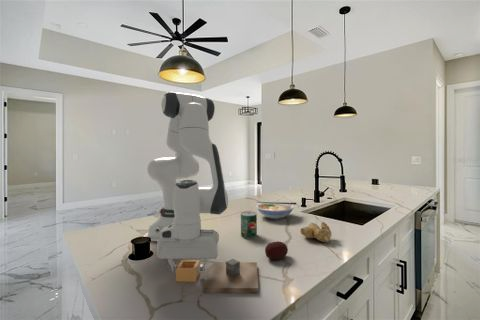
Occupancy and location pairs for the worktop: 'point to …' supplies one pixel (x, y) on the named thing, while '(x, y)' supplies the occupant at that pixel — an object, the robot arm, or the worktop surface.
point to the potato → (276, 250)
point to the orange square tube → (188, 271)
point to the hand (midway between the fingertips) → (188, 270)
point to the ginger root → (317, 232)
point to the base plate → (232, 277)
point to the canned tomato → (248, 224)
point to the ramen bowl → (275, 209)
